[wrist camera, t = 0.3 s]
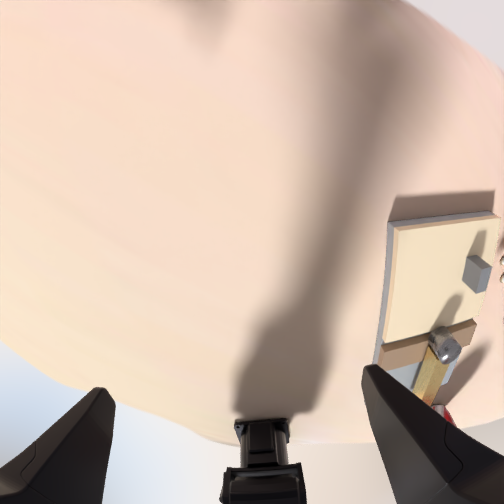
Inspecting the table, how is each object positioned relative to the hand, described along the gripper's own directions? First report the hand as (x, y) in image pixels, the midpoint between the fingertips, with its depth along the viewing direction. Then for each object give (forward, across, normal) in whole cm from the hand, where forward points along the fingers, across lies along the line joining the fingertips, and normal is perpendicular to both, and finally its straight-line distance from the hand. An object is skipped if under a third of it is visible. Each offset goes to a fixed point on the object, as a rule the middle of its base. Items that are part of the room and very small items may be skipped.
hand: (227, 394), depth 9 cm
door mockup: (+14, -18, +12) cm, 26 cm away
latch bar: (+12, -18, +17) cm, 27 cm away
